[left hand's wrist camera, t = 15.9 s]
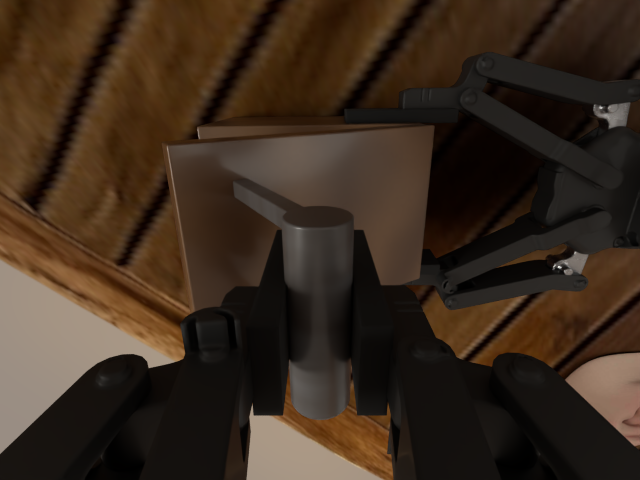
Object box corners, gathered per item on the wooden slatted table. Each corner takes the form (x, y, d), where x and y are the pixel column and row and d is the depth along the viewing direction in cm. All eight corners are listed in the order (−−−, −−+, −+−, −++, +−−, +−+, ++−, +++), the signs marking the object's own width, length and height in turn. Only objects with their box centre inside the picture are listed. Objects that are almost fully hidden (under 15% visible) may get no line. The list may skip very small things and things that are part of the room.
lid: (194, 340, 18) (261, 491, 11) (161, 141, 14) (229, 182, 7) (407, 271, 24) (531, 339, 17) (419, 123, 20) (581, 136, 14)
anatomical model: (557, 460, 37) (600, 371, 33) (536, 427, 41) (572, 343, 37) (683, 471, 37) (742, 384, 33) (651, 437, 41) (700, 356, 37)
